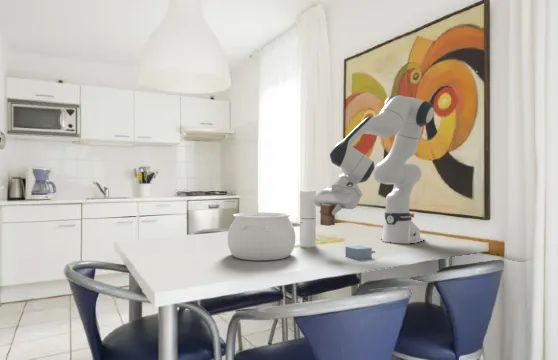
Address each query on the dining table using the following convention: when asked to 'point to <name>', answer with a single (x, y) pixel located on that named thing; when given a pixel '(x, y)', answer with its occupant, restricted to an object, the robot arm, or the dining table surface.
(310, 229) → the cylindrical container
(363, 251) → the slate block
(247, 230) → the pot
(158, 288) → the dining table surface
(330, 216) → the walnut block
